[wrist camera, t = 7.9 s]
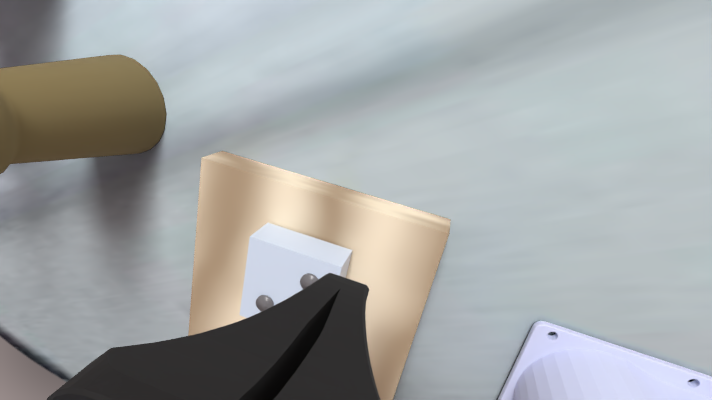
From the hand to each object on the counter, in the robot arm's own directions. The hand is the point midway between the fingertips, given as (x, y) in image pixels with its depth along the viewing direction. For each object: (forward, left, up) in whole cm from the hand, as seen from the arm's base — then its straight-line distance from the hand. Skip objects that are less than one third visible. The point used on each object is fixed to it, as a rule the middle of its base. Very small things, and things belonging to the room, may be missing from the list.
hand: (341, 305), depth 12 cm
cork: (+18, -1, -11) cm, 21 cm away
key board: (+4, +14, -10) cm, 18 cm away
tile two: (+4, +5, -8) cm, 10 cm away
